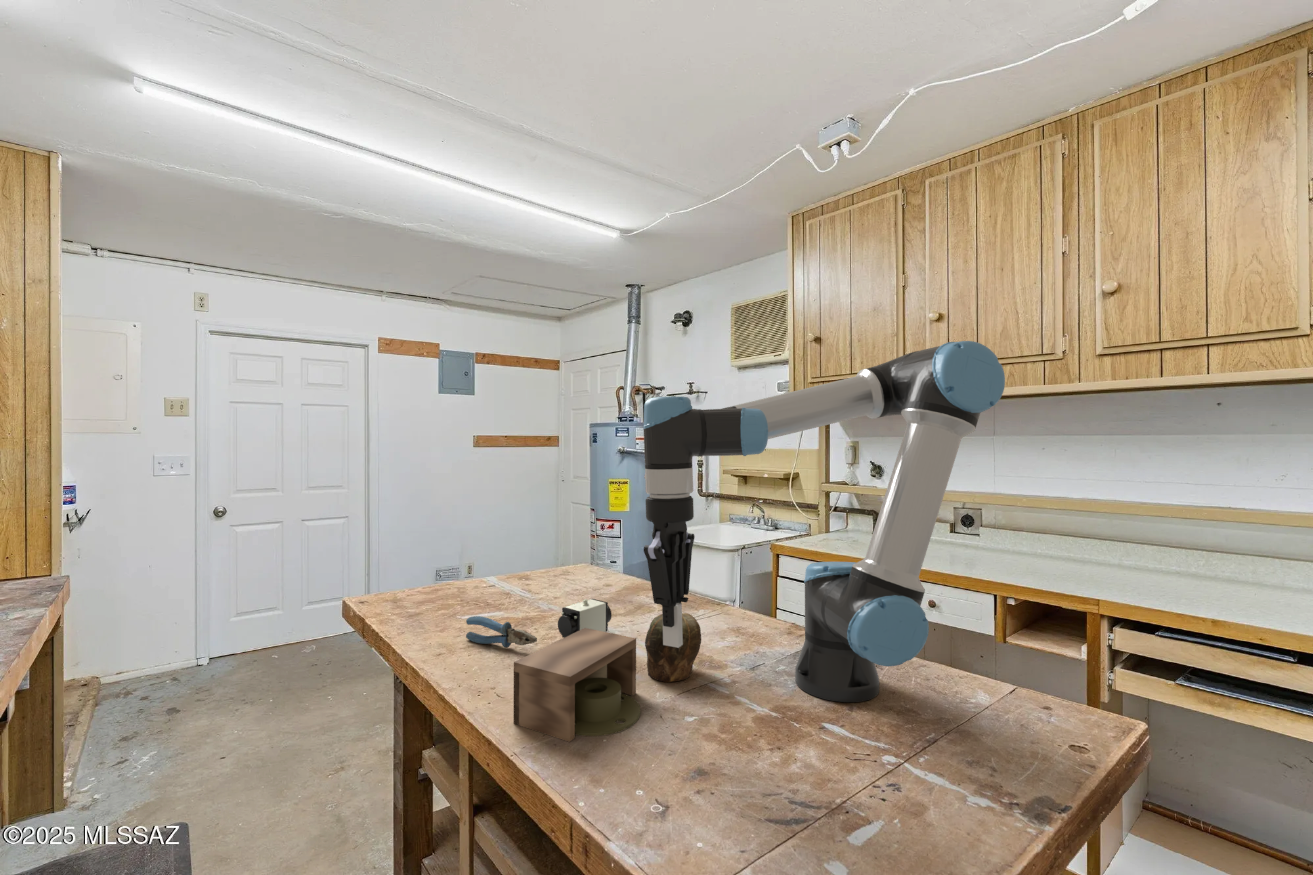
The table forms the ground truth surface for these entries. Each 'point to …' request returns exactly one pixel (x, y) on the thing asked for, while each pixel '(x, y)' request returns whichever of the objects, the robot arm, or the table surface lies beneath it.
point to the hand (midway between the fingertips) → (672, 644)
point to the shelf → (569, 678)
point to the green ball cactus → (672, 650)
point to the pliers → (506, 630)
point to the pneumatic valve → (584, 617)
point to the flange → (603, 707)
